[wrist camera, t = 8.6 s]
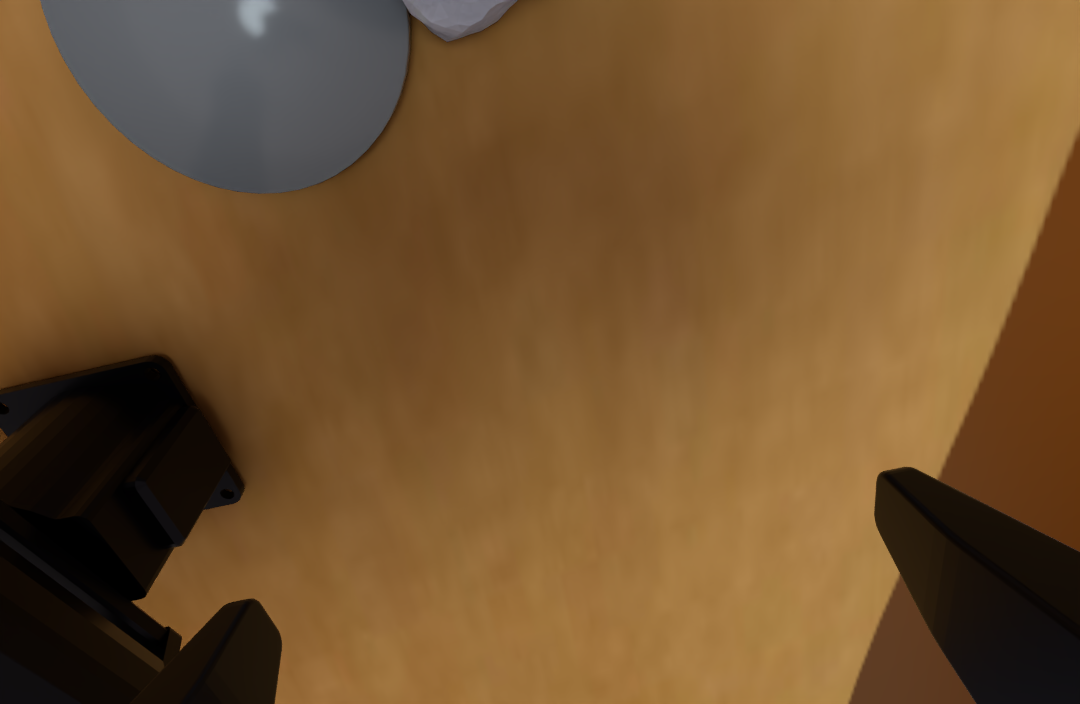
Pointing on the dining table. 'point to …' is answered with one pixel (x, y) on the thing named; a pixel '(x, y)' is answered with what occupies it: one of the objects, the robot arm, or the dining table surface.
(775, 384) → the dining table surface
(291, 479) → the dining table surface
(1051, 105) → the dining table surface
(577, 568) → the dining table surface
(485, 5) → the stone block
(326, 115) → the slate coaster
